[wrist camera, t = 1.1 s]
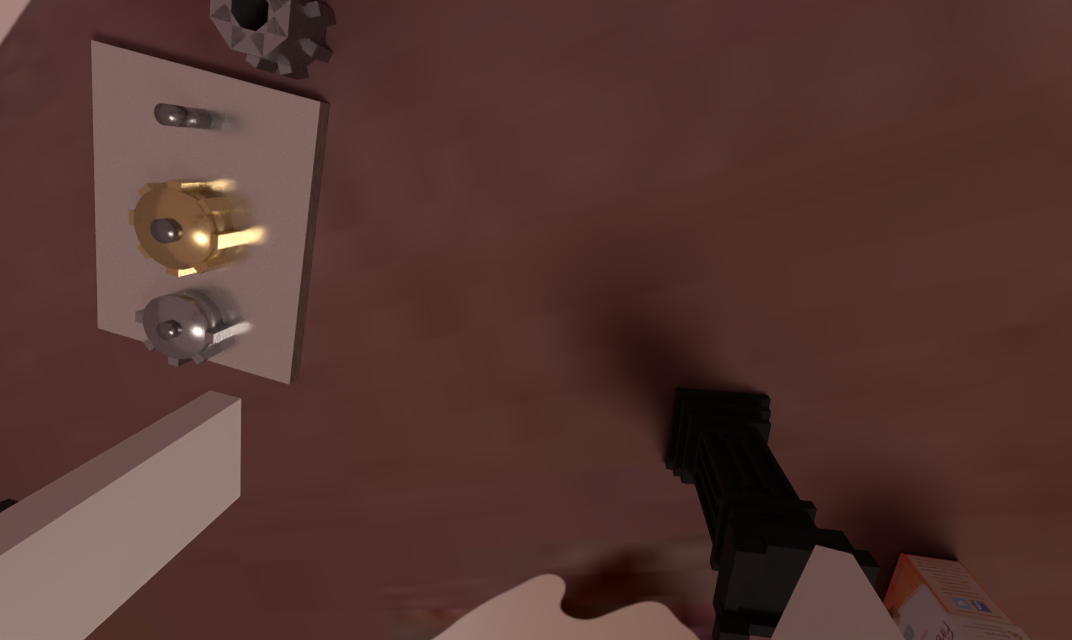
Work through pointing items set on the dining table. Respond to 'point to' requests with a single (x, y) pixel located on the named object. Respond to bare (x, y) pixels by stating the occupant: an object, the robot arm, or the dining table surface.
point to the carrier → (204, 211)
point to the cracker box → (944, 603)
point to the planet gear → (275, 32)
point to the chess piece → (747, 509)
